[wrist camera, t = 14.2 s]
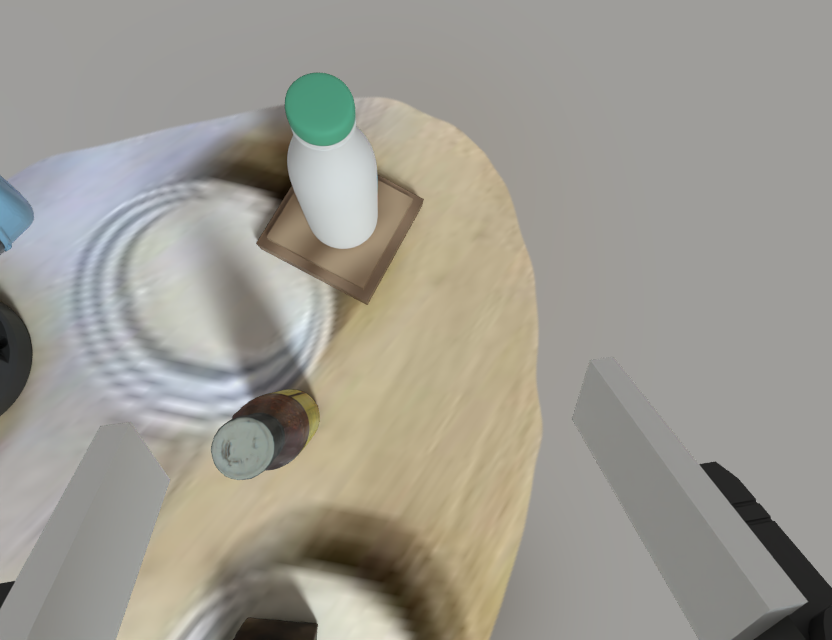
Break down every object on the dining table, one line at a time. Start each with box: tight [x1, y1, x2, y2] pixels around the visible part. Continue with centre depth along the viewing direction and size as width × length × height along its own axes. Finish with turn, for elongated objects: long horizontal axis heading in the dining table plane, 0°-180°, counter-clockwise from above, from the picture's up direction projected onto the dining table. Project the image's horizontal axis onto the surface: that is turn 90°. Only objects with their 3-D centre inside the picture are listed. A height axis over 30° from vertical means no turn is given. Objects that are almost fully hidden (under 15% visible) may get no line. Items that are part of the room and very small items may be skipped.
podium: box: [256, 175, 424, 305], centre depth 49 cm, size 14×14×3 cm
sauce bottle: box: [211, 389, 320, 480], centre depth 37 cm, size 7×6×20 cm
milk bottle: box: [285, 73, 378, 249], centre depth 37 cm, size 8×8×20 cm
